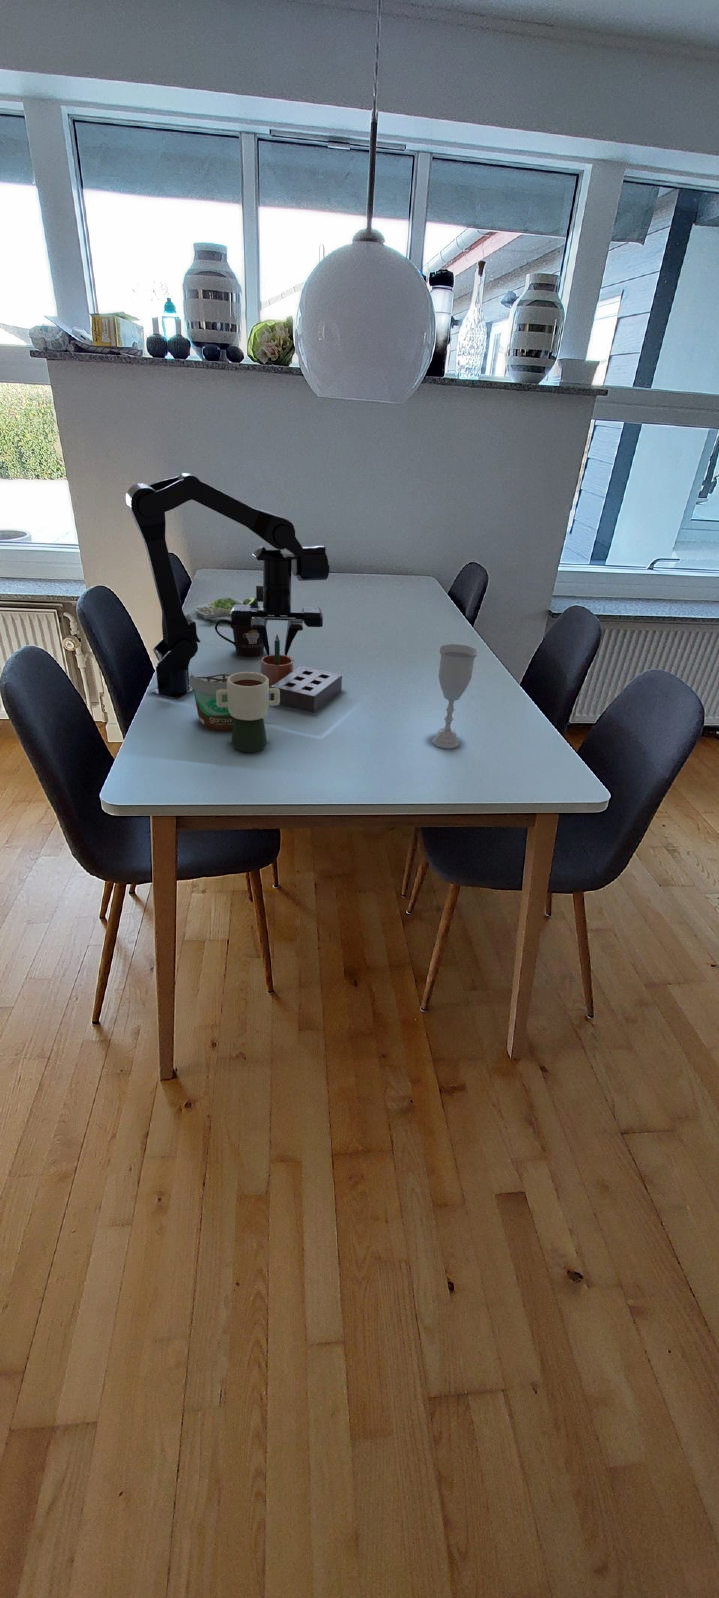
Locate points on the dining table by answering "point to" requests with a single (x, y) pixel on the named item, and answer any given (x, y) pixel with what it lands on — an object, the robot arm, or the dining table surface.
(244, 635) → the coffee mug
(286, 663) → the cup
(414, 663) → the dining table surface
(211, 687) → the food container
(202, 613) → the salad plate
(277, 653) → the pencil
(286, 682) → the pen block
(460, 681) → the chalice
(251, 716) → the character mug
